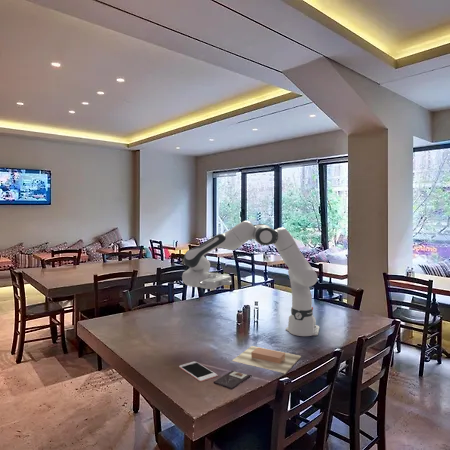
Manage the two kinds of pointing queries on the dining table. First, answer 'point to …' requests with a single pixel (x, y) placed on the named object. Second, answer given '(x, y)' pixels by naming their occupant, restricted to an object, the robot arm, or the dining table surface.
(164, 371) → the dining table surface
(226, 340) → the dining table surface
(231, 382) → the chocolate bar
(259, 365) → the board
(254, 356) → the tile
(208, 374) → the cell phone
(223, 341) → the dining table surface
